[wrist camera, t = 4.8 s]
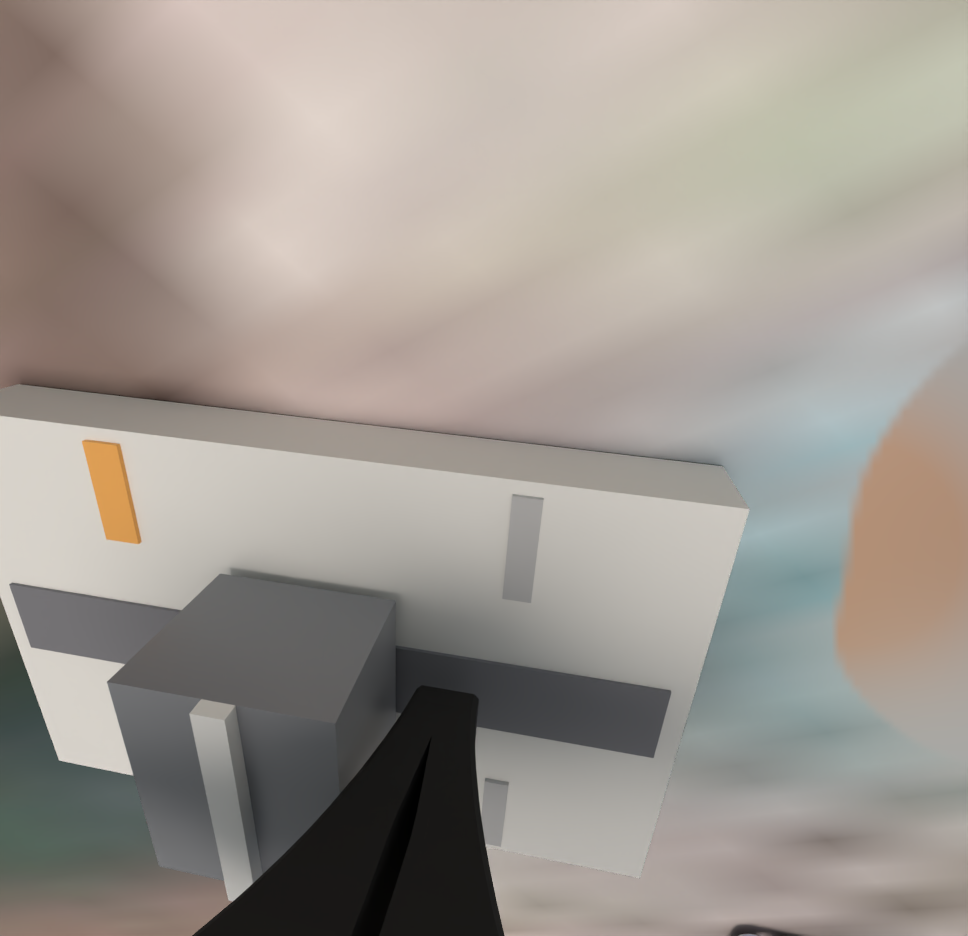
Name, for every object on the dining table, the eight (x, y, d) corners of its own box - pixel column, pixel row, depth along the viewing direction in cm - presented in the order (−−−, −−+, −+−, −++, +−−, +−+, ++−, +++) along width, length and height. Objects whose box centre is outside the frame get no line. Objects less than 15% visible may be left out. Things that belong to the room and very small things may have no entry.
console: (722, 466, 12) (750, 512, 10) (632, 805, 16) (640, 882, 14) (18, 384, 14) (-73, 408, 12) (111, 707, 18) (56, 763, 16)
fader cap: (395, 600, 12) (327, 739, 8) (396, 763, 14) (340, 925, 10) (220, 573, 12) (92, 695, 9) (245, 735, 14) (148, 882, 11)
